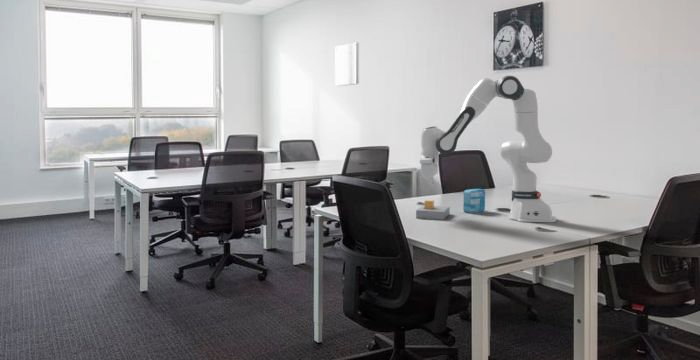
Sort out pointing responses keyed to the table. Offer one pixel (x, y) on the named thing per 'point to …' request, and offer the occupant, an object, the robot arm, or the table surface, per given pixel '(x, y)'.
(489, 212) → the table surface
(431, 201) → the plug
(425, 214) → the socket box
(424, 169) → the robot arm
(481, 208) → the data package
